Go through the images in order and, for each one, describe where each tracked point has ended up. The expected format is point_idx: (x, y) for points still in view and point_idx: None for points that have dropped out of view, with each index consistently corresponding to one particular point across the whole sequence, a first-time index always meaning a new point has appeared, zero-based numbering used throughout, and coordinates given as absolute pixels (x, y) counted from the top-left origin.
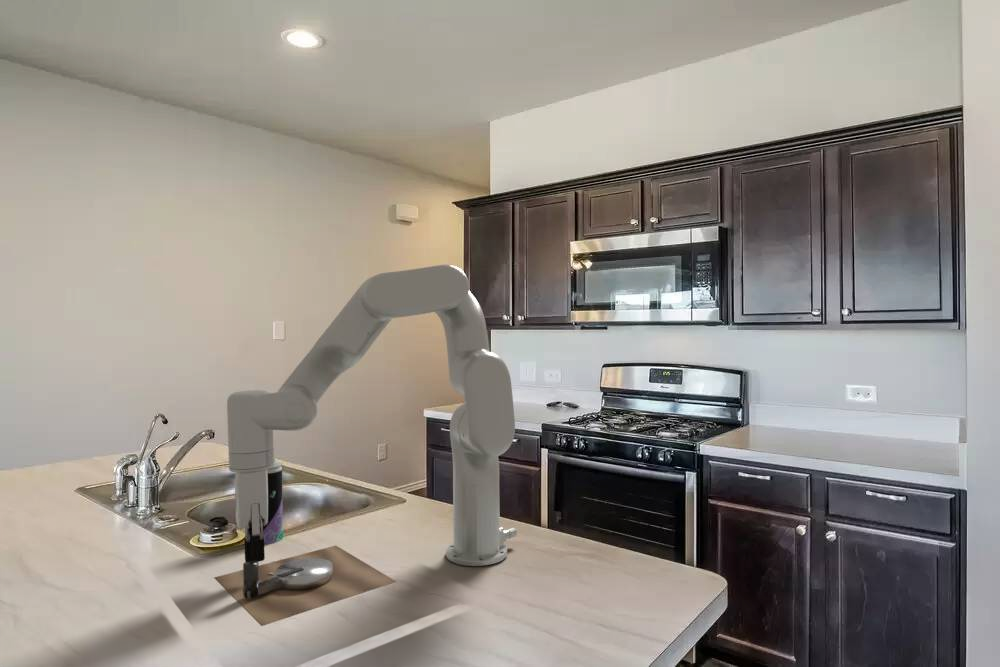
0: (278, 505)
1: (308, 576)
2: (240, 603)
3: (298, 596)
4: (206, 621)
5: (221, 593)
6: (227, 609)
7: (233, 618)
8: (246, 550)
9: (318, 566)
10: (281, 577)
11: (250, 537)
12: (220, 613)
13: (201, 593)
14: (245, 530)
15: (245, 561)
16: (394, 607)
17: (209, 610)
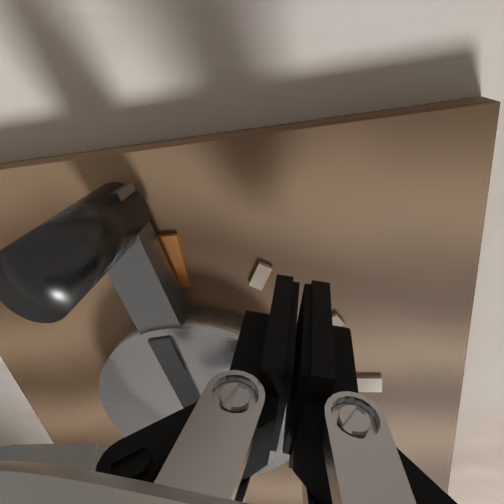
0: None
1: (119, 399)
2: (93, 158)
3: (82, 329)
4: (82, 3)
5: (353, 113)
6: (164, 108)
7: (73, 115)
8: (268, 324)
9: None
10: (149, 339)
11: (158, 422)
12: (138, 74)
13: (427, 15)
14: (340, 455)
15: (278, 276)
16: (14, 442)
17: (190, 31)
